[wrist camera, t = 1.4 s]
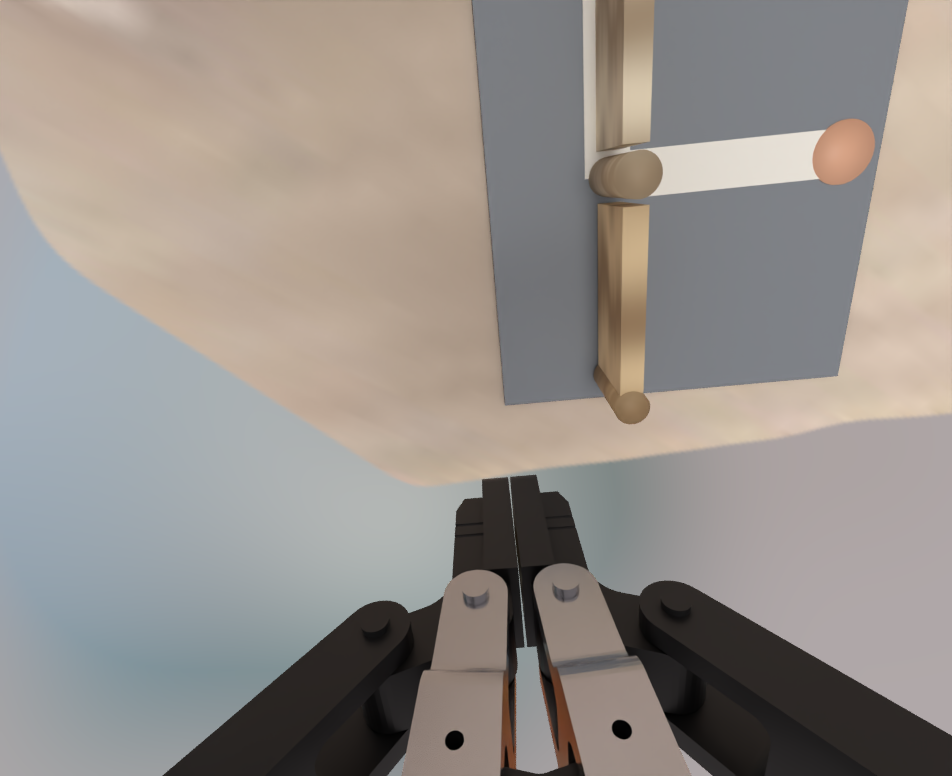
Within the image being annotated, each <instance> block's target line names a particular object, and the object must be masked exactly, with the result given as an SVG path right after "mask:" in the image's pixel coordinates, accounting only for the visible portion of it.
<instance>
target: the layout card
mask: <svg viewBox="0 0 952 776" xmlns="http://www.w3.org/2000/svg"><path fill="white" fill-rule="evenodd" d="M907 5H908V0H655V3H654V34H653V66H652V98H651V130H650V142H646V143H642V144H638V145H634V146H630V147H626V148H622V149H618V150H608V151H599V152H596V31H595V0H472V6H473V18H474V31H475V43H476V55H477V68H478V80H479V92H480V104H481V117H482V129H483V141H484V153H485V166H486V178H487V190H488V202H489V215H490V227H491V239H492V252H493V264H494V276H495V288H496V301H497V313H498V325H499V337H500V350H501V362H502V374H503V386H504V399H505V405H516V404H528V403H539V402H550V401H561V400H573V399H584V398H595V397H605V396H604V395H603V393H602V392H601V390H600V388H599V387H598V385H597V383H596V382H595V380H594V370H595V368H596V367H597V365H598V204H601V203H611V202H628V203H637V204H646V205H650V207H649V238H648V268H647V299H646V330H645V361H644V391H643V393H652V392H663V391H674V390H686V389H697V388H708V387H719V386H731V385H742V384H753V383H765V382H776V381H787V380H798V379H810V378H821V377H832V376H838V371H839V366H840V360H841V355H842V350H843V344H844V339H845V334H846V328H847V323H848V318H849V313H850V307H851V302H852V297H853V291H854V286H855V281H856V275H857V270H858V265H859V260H860V254H861V249H862V244H863V238H864V233H865V228H866V222H867V217H868V212H869V206H870V201H871V196H872V191H873V185H874V180H875V175H876V169H877V164H878V159H879V153H880V148H881V143H882V138H883V132H884V127H885V122H886V116H887V111H888V106H889V100H890V95H891V90H892V85H893V79H894V74H895V69H896V63H897V58H898V53H899V47H900V42H901V37H902V32H903V26H904V21H905V16H906V10H907ZM643 149H644V150H649V151H651V152H653V153H655V154H656V155H657V156H658V157H659V159H660V161H661V163H662V167H663V176H662V180H661V183H660V185H659V186H658V188H657V189H656V191H655V192H654V193H652V194H651V195H650V196H648V197H646V198H643V199H625V198H613V197H602V196H599V195H597V194H595V193H594V192H593V191H592V189H591V188H590V185H589V180H588V179H589V173H590V170H591V168H592V166H593V165H594V164H595V163H596V162H597V161H598V160H600V159H601V158H604V157H608V156H613V155H617V154H622V153H626V152H631V151H636V150H643Z"/></svg>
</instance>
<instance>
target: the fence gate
mask: <svg viewBox="0 0 952 776" xmlns="http://www.w3.org/2000/svg"><path fill="white" fill-rule="evenodd" d="M649 207H650V205H646V204H637V203H628V202H611V203H601V204H598V365H597V367H596V368H595V370H594V380H595V382H596V383H597V385H598V387H599V388H600V390H601V392H602V393H603V395H604V396H605V398H606V400H607V401H608V403H609V405H610V406H611V408H612V409H613V411H614V413H615V414H616V416H617V418H618V419H619V420H620V421H621V422H623V423H626V424H636V423H639V422H641V421H642V420H643V419H645V418H646V416H647V415H648V413H649V410H650V403H649V401H648V399H647V398H646V396H645V395H644V394H643V391H644V361H645V330H646V299H647V268H648V238H649Z"/></svg>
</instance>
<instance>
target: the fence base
mask: <svg viewBox="0 0 952 776" xmlns="http://www.w3.org/2000/svg"><path fill="white" fill-rule="evenodd" d="M654 3H655V0H595V31H596V152H599V151H608V150H618V149H622V148H626V147H630V146H634V145H638V144H642V143H646V142H650V130H651V98H652V66H653V34H654ZM662 176H663V167H662V163H661V161H660V159H659V157H658V156H657V155H656V154H655V153H653V152H651V151H649V150H644V149H643V150H636V151H631V152H626V153H622V154H617V155H613V156H608V157H604V158H601V159H600V160H598V161H597V162H596V163H595V164H594V165H593V166H592V168H591V170H590V173H589V179H588V180H589V185H590V188H591V189H592V191H593V192H594V193H595V194H597V195H599V196H602V197H613V198H625V199H643V198H646V197H648V196H650V195H651V194H652V193H654V192H655V191H656V189H657V188H658V186H659V185H660V183H661V180H662Z"/></svg>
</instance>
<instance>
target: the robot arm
mask: <svg viewBox="0 0 952 776" xmlns="http://www.w3.org/2000/svg"><path fill="white" fill-rule="evenodd" d="M510 481H511V494H512V505H513V518H514V528H513V518H512V509H511V500H510V492H509V482H508V477H505V478H493V479H482V491H483V492H482V493H483V498H473V499H465V500H464V501H463V503H462V504H461V505H460V507H459V508H458V510H457V511H456V528H455V543H454V560H453V576H452V577H453V578H452V580H451V581H450V583H449V584H448V585H447V587H446V589H445V592H444V596H443V597H442V598H441V599H439V600H438V601H437V602H435V603H433V604H432V605H430V606H427V607H425V608H422V609H419V610H416V611H414V612H411V613H408V612H407V610H406V609H405V608H404V607H403V606H402V605H400V604H398V603H396V602H392V601H378V602H373V603H370V604H368V605H365V606H363V607H362V608H360V609H358V610H357V611H356V612H355V613H353V614H352V615H351V616H350V617H349V618H347V619H346V620H345V621H344V622H343V623H342V624H341V625H339V626H338V627H337V628H336V629H334V630H333V631H332V632H331V633H330V634H329V635H327V636H326V637H325V638H324V639H323V640H321V641H320V642H319V643H318V644H317V645H316V646H314V647H313V648H312V649H311V650H310V651H309V652H307V653H306V654H305V655H304V656H303V657H301V658H300V659H299V660H298V661H297V662H296V663H294V664H293V665H292V666H291V667H290V668H289V669H287V670H286V671H285V672H284V673H283V674H282V675H280V676H279V677H278V678H277V679H276V680H275V681H273V682H272V683H271V684H270V685H269V686H267V687H266V688H265V689H264V690H263V691H262V692H260V693H259V694H258V695H257V696H256V697H254V698H253V699H252V700H251V701H250V702H249V703H247V704H246V705H245V706H244V707H243V708H242V709H241V710H239V711H238V712H237V713H236V714H234V715H233V716H232V717H231V718H230V719H229V720H227V721H226V722H225V723H224V724H223V725H222V726H220V727H219V728H218V729H217V730H216V731H215V732H213V733H212V734H211V735H210V736H209V737H207V738H206V739H205V740H204V741H203V742H202V743H201V744H199V745H198V746H197V747H196V748H195V749H193V750H192V751H191V752H190V753H189V754H188V755H186V756H185V757H184V758H183V759H182V760H181V761H179V762H178V763H177V764H176V765H175V766H173V767H172V768H171V769H170V770H169V771H167V772H166V773H165V774H164V775H163V776H387V775H388V774H389V772H390V771H391V770H392V769H393V768H394V766H395V765H396V764H397V763H398V762H399V760H400V759H401V758H402V757H403V755H404V754H405V753H406V756H405V762H404V767H403V772H402V776H691V774H690V772H689V769H688V767H687V765H686V762H685V760H684V758H683V755H682V753H681V751H680V749H679V747H680V748H681V749H682V750H683V751H685V752H686V753H687V754H688V755H689V756H690V757H692V759H694V760H695V761H696V762H697V763H699V764H700V765H701V766H702V767H703V768H704V769H705V770H707V771H708V772H709V773H710V774H711V775H713V776H952V736H951V735H950V734H948V733H946V732H944V731H943V730H941V729H939V728H937V727H936V726H934V725H932V724H931V723H929V722H927V721H925V720H923V719H922V718H920V717H918V716H917V715H915V714H913V713H911V712H910V711H908V710H906V709H904V708H902V707H901V706H899V705H897V704H896V703H894V702H892V701H890V700H888V699H887V698H885V697H883V696H882V695H880V694H878V693H876V692H874V691H873V690H871V689H869V688H868V687H866V686H864V685H862V684H861V683H859V682H857V681H856V680H854V679H852V678H850V677H848V676H847V675H845V674H843V673H842V672H840V671H838V670H836V669H835V668H833V667H831V666H829V665H828V664H826V663H824V662H822V661H821V660H819V659H817V658H816V657H814V656H812V655H810V654H808V653H807V652H805V651H803V650H802V649H800V648H798V647H796V646H794V645H793V644H791V643H789V642H788V641H786V640H784V639H782V638H781V637H779V636H777V635H775V634H773V633H772V632H770V631H768V630H766V629H765V628H763V627H761V626H760V625H758V624H756V623H755V622H753V621H751V620H749V619H747V618H746V617H744V616H742V615H740V614H739V613H737V612H735V611H734V610H732V609H730V608H728V607H727V606H725V605H723V604H721V603H720V602H718V601H716V600H714V599H713V598H711V597H709V596H707V595H706V594H704V593H702V592H701V591H699V590H697V589H695V588H693V587H691V586H689V585H687V584H684V583H681V582H676V581H659V582H655V583H653V584H651V585H648V586H647V587H646V588H645V589H644V590H643V591H642V593H641V595H640V596H637V595H632V594H626V593H621V592H617V591H614V590H611V589H609V588H607V587H605V586H603V585H602V584H600V583H599V582H597V580H596V578H595V577H594V576H593V575H592V574H591V573H590V572H589V570H588V568H587V564H586V561H585V558H584V554H583V551H582V547H581V544H580V541H579V537H578V533H577V530H576V528H575V523H574V520H573V518H572V513H571V510H570V506H569V503H568V501H567V500H565V498H564V497H563V496H562V495H560V494H559V493H558V492H544V493H540V491H539V486H538V481H537V477H536V475H528V476H516V477H510ZM514 530H515V537H514ZM515 540H516V545H515ZM516 550H517V555H516ZM517 558H518V564H517ZM518 567H519V574H518ZM519 576H520V585H521V594H522V603H523V612H524V621H525V629H526V638H527V647H532V646H533V647H534V646H537V653H538V660H539V675H540V683H541V688H542V692H543V697H544V702H545V706H546V711H547V716H548V721H549V725H550V730H551V735H552V739H553V744H554V749H555V753H556V758H557V763H558V769H555V770H553V771H550V772H547V773H544V774H535V773H530V772H526V771H521V770H517V769H516V673H517V664H518V663H517V653H516V648H522V647H524V636H523V624H522V611H521V599H520V587H519Z"/></svg>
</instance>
